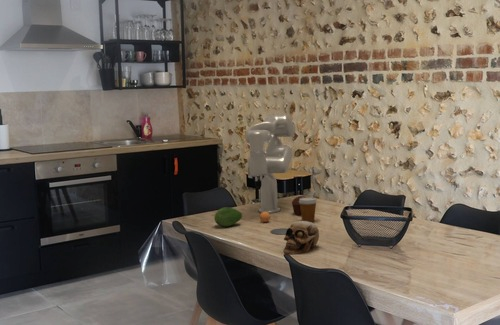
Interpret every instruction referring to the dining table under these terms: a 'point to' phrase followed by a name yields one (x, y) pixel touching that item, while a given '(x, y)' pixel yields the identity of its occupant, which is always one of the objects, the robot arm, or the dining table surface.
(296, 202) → the muffin
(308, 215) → the disposable coffee cup
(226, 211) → the fruit
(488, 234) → the dining table surface
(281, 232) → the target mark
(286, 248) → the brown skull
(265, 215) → the ball
